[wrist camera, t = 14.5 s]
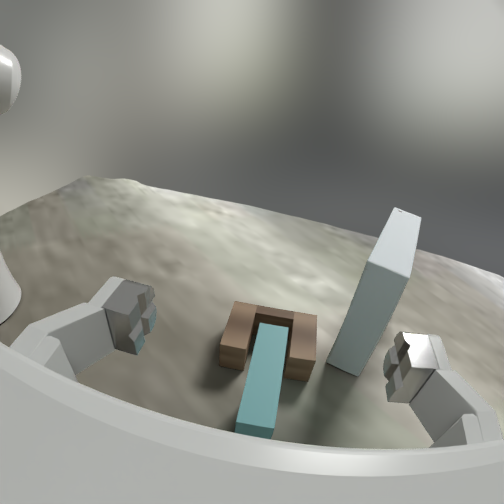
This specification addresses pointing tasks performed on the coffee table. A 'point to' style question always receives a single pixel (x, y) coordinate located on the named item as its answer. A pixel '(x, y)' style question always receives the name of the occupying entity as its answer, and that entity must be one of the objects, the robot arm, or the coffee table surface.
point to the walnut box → (250, 316)
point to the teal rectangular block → (263, 383)
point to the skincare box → (377, 293)
